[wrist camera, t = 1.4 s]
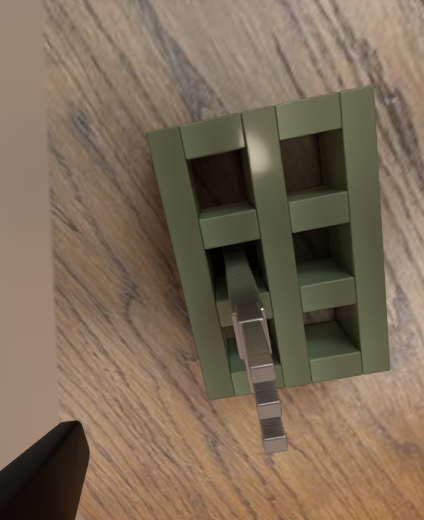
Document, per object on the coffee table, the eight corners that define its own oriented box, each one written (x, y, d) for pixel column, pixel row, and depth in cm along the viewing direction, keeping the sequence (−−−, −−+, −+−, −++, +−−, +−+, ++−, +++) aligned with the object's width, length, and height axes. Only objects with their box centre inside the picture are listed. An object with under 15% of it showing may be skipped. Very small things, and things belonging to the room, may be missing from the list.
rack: (208, 363, 21) (208, 401, 18) (157, 137, 18) (145, 132, 14) (362, 336, 21) (391, 370, 17) (342, 98, 17) (374, 83, 14)
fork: (227, 271, 20) (254, 456, 8) (220, 234, 19) (236, 370, 7) (244, 268, 20) (300, 449, 7) (238, 231, 19) (286, 361, 7)
